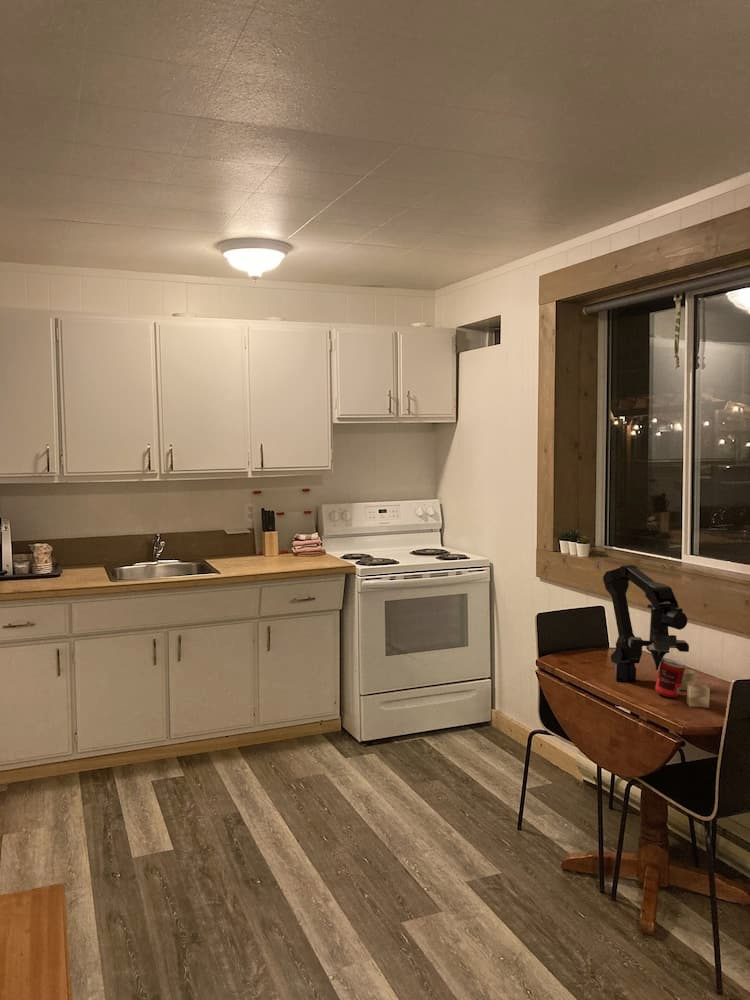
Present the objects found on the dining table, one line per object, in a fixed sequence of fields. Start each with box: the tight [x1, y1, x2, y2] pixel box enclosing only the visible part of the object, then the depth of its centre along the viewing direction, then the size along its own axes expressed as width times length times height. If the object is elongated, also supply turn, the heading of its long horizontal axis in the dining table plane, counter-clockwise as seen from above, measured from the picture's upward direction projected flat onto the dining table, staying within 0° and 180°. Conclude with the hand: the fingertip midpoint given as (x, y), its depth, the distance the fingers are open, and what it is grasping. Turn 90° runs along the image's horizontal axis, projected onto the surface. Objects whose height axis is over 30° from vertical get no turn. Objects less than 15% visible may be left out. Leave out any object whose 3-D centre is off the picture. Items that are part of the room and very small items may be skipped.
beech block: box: [686, 684, 711, 708], centre depth 272 cm, size 6×4×6 cm, turn 83°
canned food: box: [655, 657, 686, 699], centre depth 281 cm, size 8×8×11 cm
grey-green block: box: [680, 669, 697, 691], centre depth 289 cm, size 6×4×6 cm, turn 83°
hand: (656, 669), depth 281 cm, fingers closed
